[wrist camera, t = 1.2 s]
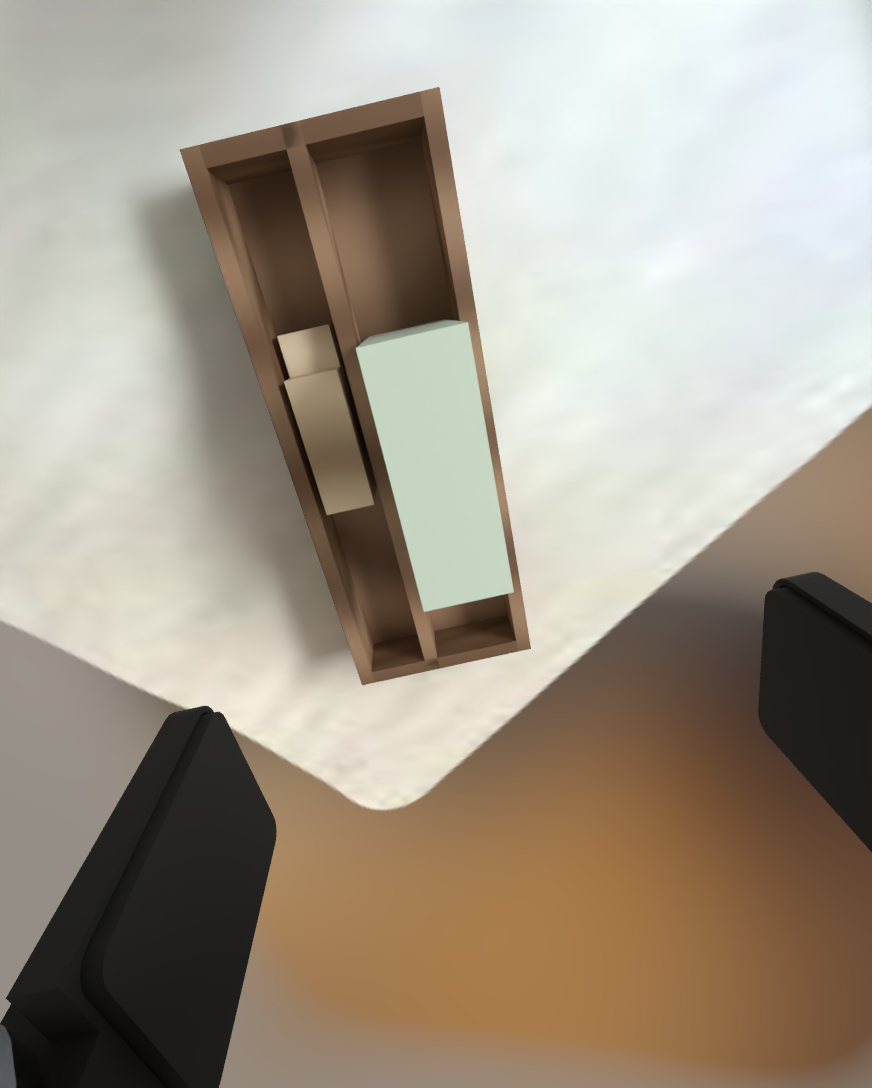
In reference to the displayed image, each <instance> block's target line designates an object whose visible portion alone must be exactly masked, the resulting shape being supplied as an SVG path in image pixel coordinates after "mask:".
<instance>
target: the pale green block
mask: <svg viewBox="0 0 872 1088" xmlns="http://www.w3.org/2000/svg"><path fill="white" fill-rule="evenodd" d="M356 352H357V356H358V359H359V363H360V367H361V371H362V375H363V379H364V383H365V386H366V390H367V394H368V398H369V402H370V406H371V410H372V413H373V417H374V421H375V425H376V429H377V433H378V437H379V441H380V444H381V448H382V452H383V456H384V460H385V464H386V468H387V471H388V475H389V479H390V483H391V487H392V491H393V495H394V499H395V502H396V506H397V510H398V514H399V518H400V522H401V526H402V529H403V533H404V537H405V541H406V545H407V549H408V553H409V556H410V560H411V564H412V568H413V572H414V576H415V580H416V584H417V587H418V591H419V595H420V599H421V603H422V607H423V611H424V612H426V611H431V610H435V609H440V608H444V607H449V606H453V605H458V604H463V603H467V602H472V601H476V600H481V599H485V598H490V597H495V596H499V595H504V594H508V593H513V592H514V590H513V584H512V578H511V572H510V566H509V560H508V555H507V549H506V543H505V537H504V531H503V525H502V519H501V513H500V508H499V502H498V496H497V490H496V484H495V478H494V472H493V466H492V460H491V455H490V449H489V443H488V437H487V431H486V425H485V419H484V413H483V408H482V402H481V396H480V390H479V384H478V378H477V372H476V366H475V360H474V355H473V349H472V343H471V337H470V331H469V325H468V322H462V321H454V320H445V319H443V320H439V321H434V322H430V323H426V324H422V325H417V326H413V327H409V328H404V329H400V330H396V331H391V332H387V333H383V334H378V335H374V336H370V337H368V338H367V339H366V340H365V341H364V342H362V343H361V344H360V345H359V346H358V347H356Z"/></svg>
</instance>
